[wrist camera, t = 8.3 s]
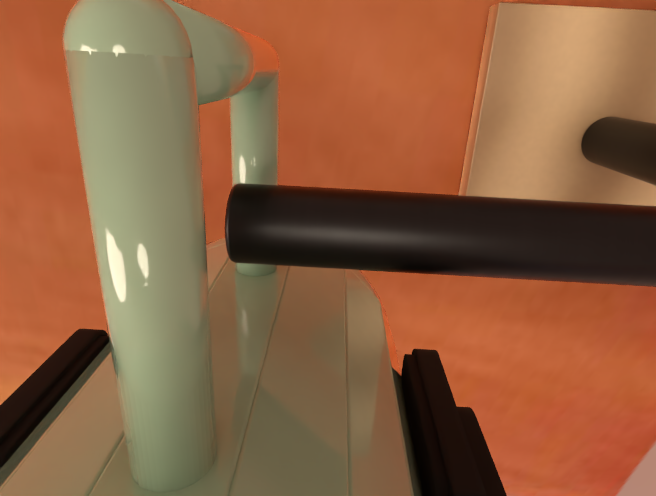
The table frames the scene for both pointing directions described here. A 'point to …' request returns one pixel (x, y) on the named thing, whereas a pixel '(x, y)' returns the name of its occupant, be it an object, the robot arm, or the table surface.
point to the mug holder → (504, 169)
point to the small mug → (206, 295)
